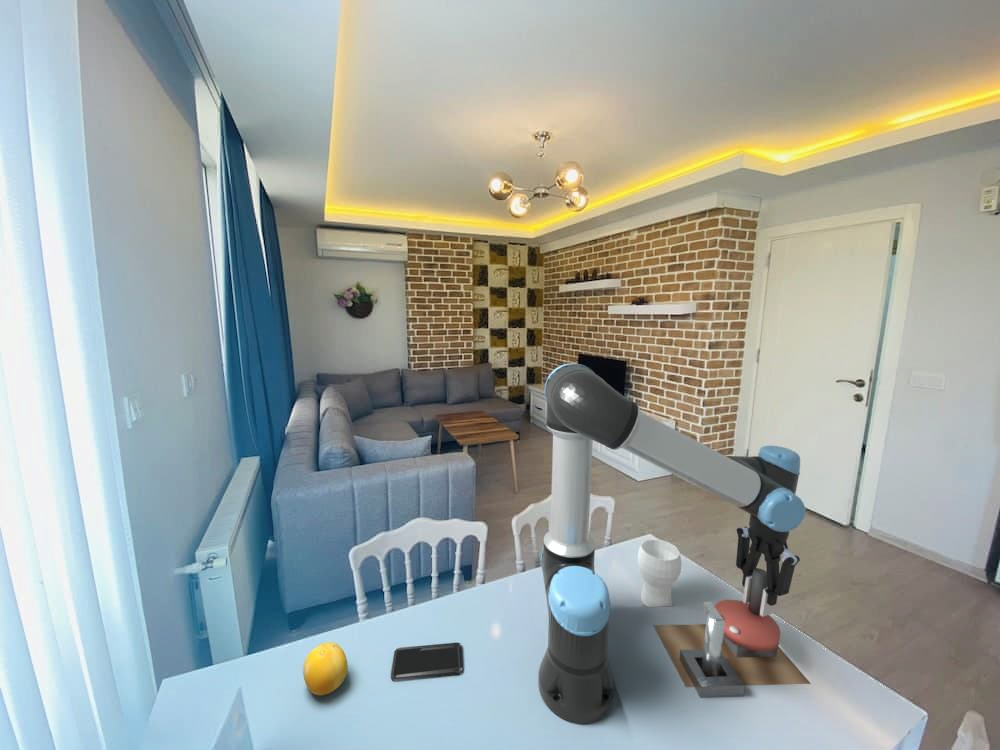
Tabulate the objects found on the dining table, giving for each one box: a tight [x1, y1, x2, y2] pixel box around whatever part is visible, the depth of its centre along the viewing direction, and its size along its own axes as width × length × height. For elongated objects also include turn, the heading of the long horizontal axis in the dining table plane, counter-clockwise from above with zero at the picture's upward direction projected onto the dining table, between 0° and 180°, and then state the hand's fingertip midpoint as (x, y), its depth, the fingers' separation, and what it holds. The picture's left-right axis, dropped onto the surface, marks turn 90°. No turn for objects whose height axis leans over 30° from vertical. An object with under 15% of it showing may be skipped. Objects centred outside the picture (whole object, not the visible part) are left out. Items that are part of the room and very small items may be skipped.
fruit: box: [302, 641, 349, 696], centre depth 82 cm, size 9×8×8 cm
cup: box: [637, 538, 683, 608], centre depth 106 cm, size 11×11×15 cm
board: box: [653, 623, 811, 688], centre depth 90 cm, size 26×16×4 cm, turn 92°
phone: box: [390, 642, 464, 683], centre depth 88 cm, size 8×1×15 cm
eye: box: [679, 649, 745, 698], centre depth 83 cm, size 9×9×2 cm
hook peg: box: [701, 601, 725, 677], centre depth 83 cm, size 3×5×15 cm, turn 2°
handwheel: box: [714, 567, 781, 652], centre depth 91 cm, size 13×13×12 cm
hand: (756, 607), depth 94 cm, fingers open, 4 cm apart
